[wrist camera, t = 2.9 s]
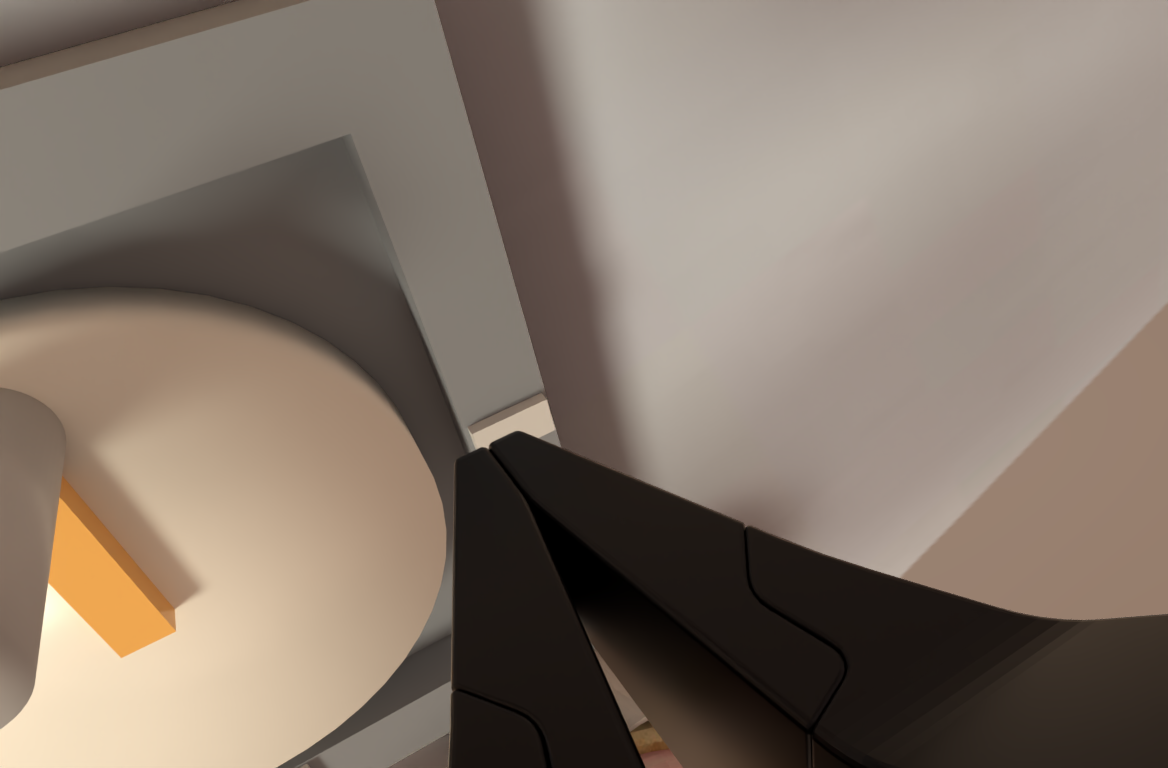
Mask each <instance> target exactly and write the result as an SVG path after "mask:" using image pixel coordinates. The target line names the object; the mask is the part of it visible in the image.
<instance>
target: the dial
mask: <svg viewBox="0 0 1168 768" xmlns="http://www.w3.org/2000/svg"><path fill="white" fill-rule="evenodd" d="M445 560H446V524H445V517H444V511H443V504H442V501H441V498H440V495H439V492H438V489H437V486H436V483H435V480H434V477H433V475H432V473H431V471H430V469H429V467H428V466H427V464H426V462H425V460H424V458H423V456H422V454H421V452H420V450H419V448H418V446H417V445H416V443H415V441H414V439H413V437H412V435H411V433H410V431H409V429H408V428H407V426H406V424H405V422H404V420H403V418H402V416H401V415H400V413H399V411H398V409H397V407H396V406H395V405H394V403H393V402H392V401H391V400H390V398H389V397H388V396H387V394H386V393H385V392H384V390H383V389H382V388H381V387H380V385H379V384H378V383H377V382H376V381H375V380H374V379H373V378H372V377H371V376H370V375H369V374H368V373H367V372H366V371H364V370H363V369H362V368H361V367H360V366H359V365H358V364H357V363H356V362H355V361H354V360H352V359H351V358H350V357H348V356H347V355H346V354H344V353H343V352H341V351H340V350H339V349H337V348H336V347H334V346H333V345H332V344H330V343H329V342H327V341H326V340H324V339H322V338H320V337H319V336H317V335H315V334H313V333H311V332H309V331H307V330H305V329H304V328H302V327H300V326H298V325H296V324H294V323H292V322H290V321H288V320H285V319H282V318H280V317H277V316H275V315H272V314H269V313H267V312H264V311H262V310H259V309H256V308H254V307H251V306H247V305H243V304H239V303H235V302H231V301H227V300H223V299H220V298H216V297H212V296H208V295H201V294H194V293H187V292H180V291H173V290H166V289H157V288H129V287H97V288H83V289H68V290H54V291H48V292H42V293H37V294H31V295H26V296H20V297H14V298H9V299H3V300H0V768H276V767H278V766H280V765H282V764H283V763H285V762H287V761H288V760H290V759H292V758H293V757H295V756H296V755H298V754H300V753H301V752H303V751H305V750H306V749H308V748H310V747H311V746H312V745H314V744H315V743H317V742H318V741H319V740H321V739H322V738H324V737H325V736H326V735H328V734H329V733H331V732H332V731H334V730H335V729H336V728H338V727H339V726H340V725H341V724H342V723H343V722H345V721H346V720H347V719H348V718H349V717H351V716H352V715H353V714H354V713H355V712H357V711H358V710H359V709H360V708H361V707H362V706H363V705H364V704H365V703H366V702H367V701H368V700H369V699H370V698H371V697H372V696H373V695H374V694H375V693H376V692H377V691H378V690H379V689H380V688H381V687H382V686H383V685H384V684H385V683H386V682H387V681H388V679H389V678H390V677H391V676H392V674H393V673H394V672H395V671H396V669H397V668H398V667H399V666H400V665H401V663H402V662H403V661H404V659H405V658H406V656H407V655H408V653H409V652H410V650H411V649H412V647H413V646H414V644H415V642H416V641H417V639H418V638H419V636H420V634H421V632H422V630H423V628H424V626H425V624H426V622H427V620H428V618H429V616H430V614H431V612H432V610H433V607H434V604H435V601H436V598H437V595H438V592H439V589H440V586H441V582H442V577H443V571H444V565H445Z"/></svg>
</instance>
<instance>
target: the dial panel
mask: <svg viewBox="0 0 1168 768" xmlns="http://www.w3.org/2000/svg"><path fill="white" fill-rule="evenodd" d="M97 287H129V288H157V289H166V290H173V291H180V292H187V293H194V294H201V295H208V296H212V297H216V298H220V299H223V300H227V301H231V302H235V303H239V304H243V305H247V306H251V307H254V308H256V309H259V310H262V311H264V312H267V313H269V314H272V315H275V316H277V317H280V318H282V319H285V320H288V321H290V322H292V323H294V324H296V325H298V326H300V327H302V328H304V329H305V330H307V331H309V332H311V333H313V334H315V335H317V336H319V337H320V338H322V339H324V340H326V341H327V342H329V343H330V344H332V345H333V346H334V347H336V348H337V349H339V350H340V351H341V352H343V353H344V354H346V355H347V356H348V357H350V358H351V359H352V360H354V361H355V362H356V363H357V364H358V365H359V366H360V367H361V368H362V369H363V370H364V371H366V372H367V373H368V374H369V375H370V376H371V377H372V378H373V379H374V380H375V381H376V382H377V383H378V384H379V385H380V387H381V388H382V389H383V390H384V392H385V393H386V394H387V396H388V397H389V398H390V400H391V401H392V402H393V403H394V405H395V406H396V407H397V409H398V411H399V413H400V415H401V416H402V418H403V420H404V422H405V424H406V426H407V428H408V429H409V431H410V433H411V435H412V437H413V439H414V441H415V443H416V445H417V446H418V448H419V450H420V452H421V454H422V456H423V458H424V460H425V462H426V464H427V466H428V467H429V469H430V471H431V473H432V475H433V477H434V480H435V483H436V486H437V489H438V492H439V495H440V498H441V501H442V504H443V511H444V517H445V524H446V560H445V565H444V571H443V577H442V582H441V586H440V589H439V592H438V595H437V598H436V601H435V604H434V607H433V610H432V612H431V614H430V616H429V618H428V620H427V622H426V624H425V626H424V628H423V630H422V632H421V634H420V636H419V638H418V639H417V641H416V642H415V644H414V646H413V647H412V649H411V650H410V652H409V653H408V655H407V656H406V658H405V659H404V661H403V662H402V663H401V665H400V666H399V667H398V668H397V669H396V671H395V672H394V673H393V674H392V676H391V677H390V678H389V679H388V681H387V682H386V683H385V684H384V685H383V686H382V687H381V688H380V689H379V690H378V691H377V692H376V693H375V694H374V695H373V696H372V697H371V698H370V699H369V700H368V701H367V702H366V703H365V704H364V705H363V706H362V707H361V708H360V709H359V710H358V711H357V712H355V713H354V714H353V715H352V716H351V717H349V718H348V719H347V720H346V721H345V722H343V723H342V724H341V725H340V726H339V727H338V728H336V729H335V730H334V731H332V732H331V733H329V734H328V735H326V736H325V737H324V738H322V739H321V740H319V741H318V742H317V743H315V744H314V745H312V746H311V747H310V748H308V749H306V750H305V751H303V752H301V753H300V754H298V755H296V756H295V757H293V758H292V759H290V760H288V761H287V762H285V763H283V764H282V765H280V766H278V767H276V768H389V767H390V766H392V765H394V764H396V763H397V762H399V761H401V760H403V759H404V758H406V757H408V756H410V755H411V754H413V753H415V752H417V751H418V750H420V749H422V748H424V747H425V746H427V745H429V744H431V743H432V742H434V741H436V740H438V739H439V738H441V737H443V736H445V735H446V734H448V733H449V732H450V695H451V693H452V692H453V691H452V689H451V635H452V564H453V493H454V463H455V461H456V459H458V458H459V457H461V456H463V455H466V454H468V453H470V452H472V451H474V450H476V449H478V448H480V447H486V448H487V449H489V445H490V443H491V442H493V441H495V440H497V439H499V438H501V437H503V436H505V435H508V434H510V433H512V432H514V431H522V432H525V433H527V434H530V435H532V436H535V437H537V438H539V439H542V440H544V441H547V442H549V443H552V444H554V445H556V446H559V447H561V445H560V441H559V438H558V434H557V431H556V427H555V424H554V420H553V417H552V413H551V410H550V406H549V402H548V399H547V395H546V392H545V388H544V385H543V381H542V378H541V374H540V371H539V367H538V364H537V360H536V357H535V353H534V350H533V346H532V342H531V339H530V335H529V332H528V328H527V325H526V321H525V318H524V314H523V311H522V307H521V304H520V300H519V297H518V293H517V290H516V286H515V282H514V279H513V275H512V272H511V268H510V265H509V261H508V258H507V254H506V251H505V247H504V244H503V240H502V237H501V233H500V230H499V226H498V223H497V219H496V215H495V212H494V208H493V205H492V201H491V198H490V194H489V191H488V187H487V184H486V180H485V177H484V173H483V170H482V166H481V163H480V159H479V155H478V152H477V148H476V145H475V141H474V138H473V134H472V131H471V127H470V124H469V120H468V117H467V113H466V110H465V106H464V103H463V99H462V95H461V92H460V88H459V85H458V81H457V78H456V74H455V71H454V67H453V64H452V60H451V57H450V53H449V50H448V46H447V43H446V39H445V35H444V32H443V28H442V25H441V21H440V18H439V14H438V11H437V7H436V4H435V0H237V1H234V2H230V3H227V4H223V5H220V6H216V7H212V8H209V9H205V10H202V11H198V12H195V13H191V14H188V15H184V16H180V17H177V18H173V19H170V20H166V21H163V22H159V23H156V24H152V25H149V26H145V27H141V28H138V29H134V30H131V31H127V32H124V33H120V34H117V35H113V36H110V37H106V38H102V39H99V40H95V41H92V42H88V43H85V44H81V45H78V46H74V47H70V48H67V49H63V50H60V51H56V52H53V53H49V54H46V55H42V56H39V57H35V58H31V59H28V60H24V61H21V62H17V63H14V64H10V65H7V66H3V67H0V300H3V299H9V298H14V297H20V296H26V295H31V294H37V293H42V292H48V291H54V290H68V289H83V288H97ZM591 644H592V643H591ZM592 647H593V649H595V648H594V646H593V645H592Z"/></svg>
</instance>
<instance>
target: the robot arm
mask: <svg viewBox="0 0 1168 768" xmlns="http://www.w3.org/2000/svg"><path fill="white" fill-rule="evenodd" d="M591 643H592V644H591ZM592 645H593V646H594V648H595V649H596V650H597V652H598V653H599V654H600V656H601V657H602V658H603V660H604V661H605V662H606V664H607V665H608V667H609V668H610V669H611V671H612V672H613V673H614V675H615V676H616V677H617V679H618V680H619V681H620V683H621V684H622V685H623V687H624V688H625V690H626V691H627V692H628V694H629V695H630V696H631V698H632V699H633V700H634V702H635V703H636V704H637V706H638V707H639V709H640V710H641V711H642V713H643V714H644V715H645V717H646V718H647V719H648V721H649V722H650V723H651V725H652V726H653V728H654V729H655V730H656V732H657V733H658V734H659V736H660V737H661V738H662V740H663V741H664V742H665V744H666V745H667V746H668V748H669V749H670V751H671V752H672V753H673V755H674V756H675V757H676V759H677V760H678V761H679V763H680V764H681V765H682V767H683V768H1168V614H1162V615H1149V616H1136V617H1124V618H1111V619H1100V620H1064V619H1055V618H1046V617H1039V616H1033V615H1028V614H1023V613H1018V612H1014V611H1010V610H1006V609H1002V608H999V607H995V606H991V605H988V604H985V603H981V602H978V601H975V600H971V599H968V598H965V597H961V596H958V595H955V594H951V593H948V592H944V591H941V590H938V589H935V588H931V587H928V586H924V585H921V584H918V583H914V582H911V581H908V580H904V579H901V578H898V577H894V576H891V575H888V574H884V573H881V572H878V571H874V570H871V569H868V568H865V567H862V566H859V565H856V564H853V563H850V562H846V561H843V560H840V559H837V558H834V557H831V556H828V555H825V554H822V553H819V552H817V551H814V550H811V549H809V548H806V547H803V546H801V545H798V544H796V543H793V542H790V541H788V540H785V539H783V538H780V537H777V536H775V535H772V534H770V533H768V532H765V531H763V530H760V529H758V528H756V527H753V526H750V525H749V526H747V527H746V528H745V525H744V523H743V522H740V521H738V520H735V519H733V518H731V517H728V516H726V515H723V514H721V513H719V512H716V511H714V510H711V509H709V508H706V507H704V506H702V505H699V504H697V503H694V502H692V501H689V500H687V499H685V498H682V497H680V496H677V495H675V494H673V493H670V492H668V491H665V490H663V489H660V488H658V487H656V486H653V485H651V484H648V483H646V482H643V481H641V480H639V479H636V478H634V477H631V476H629V475H627V474H624V473H622V472H619V471H617V470H614V469H612V468H610V467H607V466H605V465H602V464H600V463H597V462H595V461H593V460H590V459H588V458H585V457H583V456H581V455H578V454H576V453H573V452H571V451H568V450H566V449H564V448H561V447H559V446H556V445H554V444H552V443H549V442H547V441H544V440H542V439H539V438H537V437H535V436H532V435H530V434H527V433H525V432H522V431H514V432H512V433H510V434H508V435H505V436H503V437H501V438H499V439H497V440H495V441H493V442H491V443H490V445H489V449H487V448H486V447H480V448H478V449H476V450H474V451H472V452H470V453H468V454H466V455H463V456H461V457H459V458H458V459H456V461H455V463H454V493H453V564H452V635H451V689H452V691H453V692H452V693H451V695H450V732H449V751H448V768H646V767H645V765H644V763H643V761H642V758H641V756H640V754H639V751H638V749H637V747H636V745H635V742H634V740H633V738H632V735H631V733H630V731H629V729H628V726H627V724H626V722H625V720H624V717H623V715H622V713H621V710H620V708H619V706H618V704H617V701H616V699H615V697H614V694H613V692H612V690H611V688H610V685H609V683H608V681H607V678H606V676H605V674H604V672H603V669H602V667H601V665H600V662H599V660H598V658H597V656H596V653H595V651H594V649H593V647H592Z"/></svg>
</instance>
